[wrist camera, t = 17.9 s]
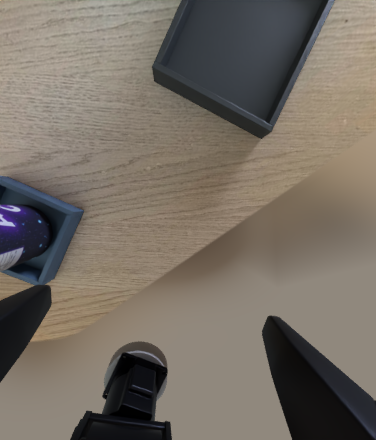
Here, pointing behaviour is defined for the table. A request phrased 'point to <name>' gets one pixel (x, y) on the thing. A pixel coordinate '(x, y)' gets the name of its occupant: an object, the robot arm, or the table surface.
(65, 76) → the table surface
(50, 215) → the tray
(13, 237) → the beverage can
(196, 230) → the table surface
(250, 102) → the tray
